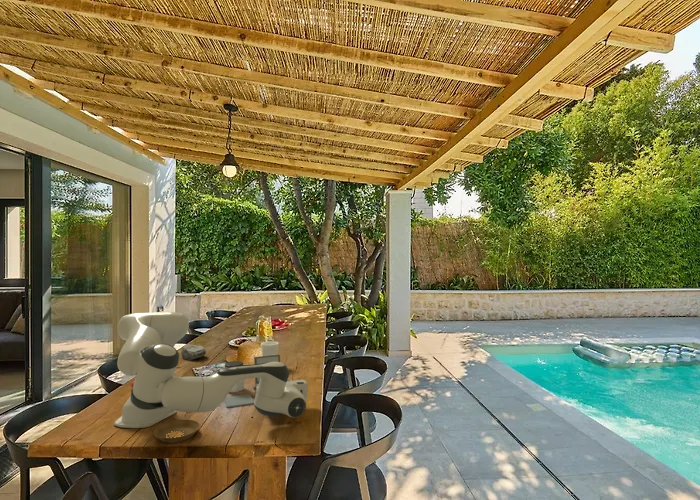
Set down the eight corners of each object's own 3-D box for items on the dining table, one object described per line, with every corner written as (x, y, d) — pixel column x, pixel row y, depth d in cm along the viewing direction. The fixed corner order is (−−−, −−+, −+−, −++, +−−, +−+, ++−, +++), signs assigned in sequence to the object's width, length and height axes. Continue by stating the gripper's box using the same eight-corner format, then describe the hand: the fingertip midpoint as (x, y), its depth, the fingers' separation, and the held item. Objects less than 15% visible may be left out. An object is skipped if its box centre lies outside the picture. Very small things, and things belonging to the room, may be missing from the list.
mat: (254, 404, 171) (254, 402, 171) (227, 407, 167) (227, 406, 167) (250, 395, 181) (250, 394, 181) (223, 398, 177) (224, 397, 177)
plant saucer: (198, 442, 137) (198, 434, 137) (149, 448, 133) (149, 440, 133) (201, 424, 151) (201, 417, 151) (157, 429, 147) (157, 422, 147)
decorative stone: (206, 354, 238) (199, 338, 239) (182, 365, 234) (175, 348, 235) (209, 353, 252) (203, 338, 253) (186, 363, 248) (180, 347, 249)
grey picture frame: (279, 354, 193) (279, 354, 194) (254, 357, 188) (254, 357, 189) (281, 380, 190) (281, 380, 191) (255, 384, 185) (255, 384, 186)
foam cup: (266, 370, 218) (266, 346, 218) (257, 366, 225) (257, 343, 225) (281, 367, 225) (281, 343, 225) (272, 363, 232) (273, 340, 232)
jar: (246, 386, 193) (246, 360, 193) (241, 392, 185) (241, 365, 185) (226, 386, 193) (227, 360, 193) (221, 392, 185) (221, 365, 185)
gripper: (259, 405, 156) (252, 393, 169) (310, 398, 165) (300, 387, 177) (259, 388, 156) (252, 378, 169) (310, 382, 165) (300, 372, 177)
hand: (277, 383), depth 173 cm, fingers open, 8 cm apart
